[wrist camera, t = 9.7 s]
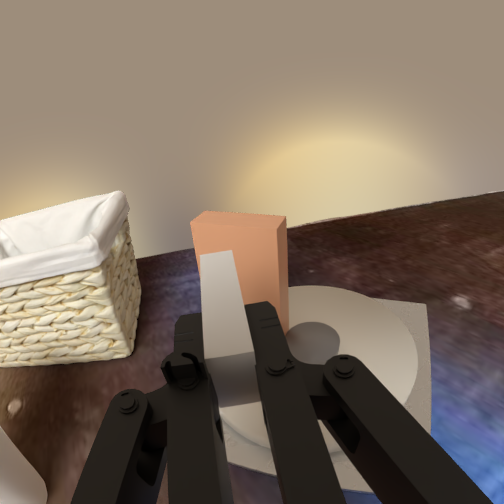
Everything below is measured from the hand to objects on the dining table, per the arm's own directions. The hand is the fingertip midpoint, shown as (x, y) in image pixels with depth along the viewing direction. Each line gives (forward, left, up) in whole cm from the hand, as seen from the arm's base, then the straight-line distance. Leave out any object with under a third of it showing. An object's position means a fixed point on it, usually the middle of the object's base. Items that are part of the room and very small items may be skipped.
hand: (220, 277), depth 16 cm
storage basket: (+28, -5, -16) cm, 33 cm away
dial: (-3, -9, -16) cm, 19 cm away
